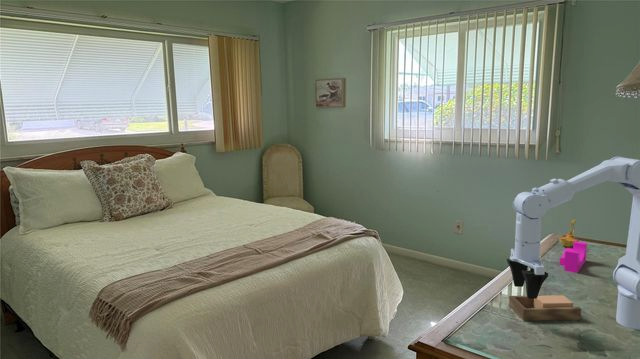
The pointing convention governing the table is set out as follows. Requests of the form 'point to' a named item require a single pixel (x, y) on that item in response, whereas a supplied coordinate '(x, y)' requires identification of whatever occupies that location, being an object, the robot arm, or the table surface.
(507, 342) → the table surface
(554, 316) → the walnut cubby
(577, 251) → the toy block
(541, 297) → the terracotta brick
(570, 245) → the magic lamp
